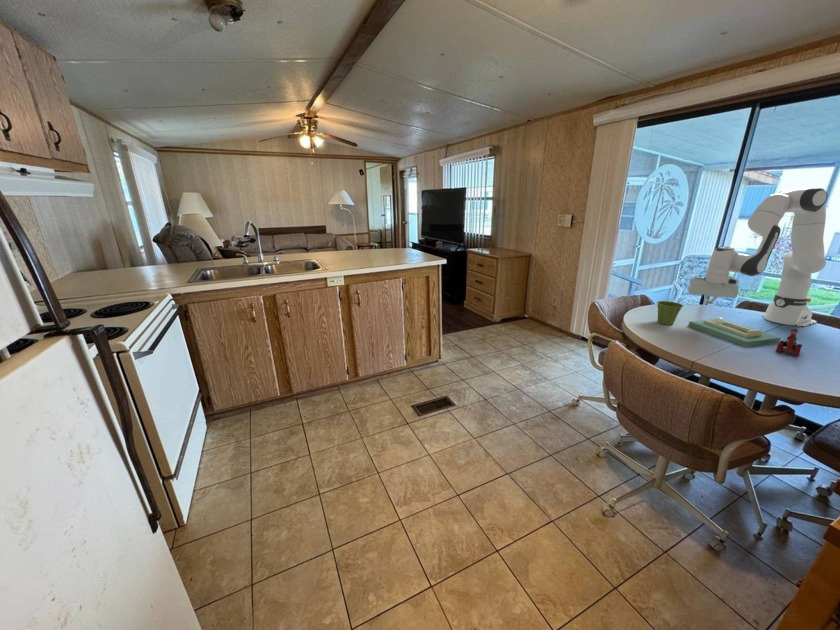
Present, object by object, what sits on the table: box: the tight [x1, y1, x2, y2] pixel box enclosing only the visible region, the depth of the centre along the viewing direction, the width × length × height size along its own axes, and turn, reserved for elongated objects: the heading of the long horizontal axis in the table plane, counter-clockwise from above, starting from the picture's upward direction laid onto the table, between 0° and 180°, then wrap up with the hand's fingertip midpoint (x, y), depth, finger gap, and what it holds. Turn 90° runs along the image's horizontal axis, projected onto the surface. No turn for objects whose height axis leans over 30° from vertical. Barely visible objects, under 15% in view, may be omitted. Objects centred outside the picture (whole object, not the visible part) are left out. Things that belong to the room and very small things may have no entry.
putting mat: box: [687, 318, 781, 348], centre depth 168 cm, size 28×20×6 cm
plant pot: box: [656, 300, 684, 326], centre depth 183 cm, size 12×12×11 cm
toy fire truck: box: [775, 328, 803, 357], centre depth 147 cm, size 7×12×10 cm, turn 129°
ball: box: [713, 316, 725, 325], centre depth 174 cm, size 4×4×4 cm
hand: (708, 303), depth 179 cm, fingers closed
